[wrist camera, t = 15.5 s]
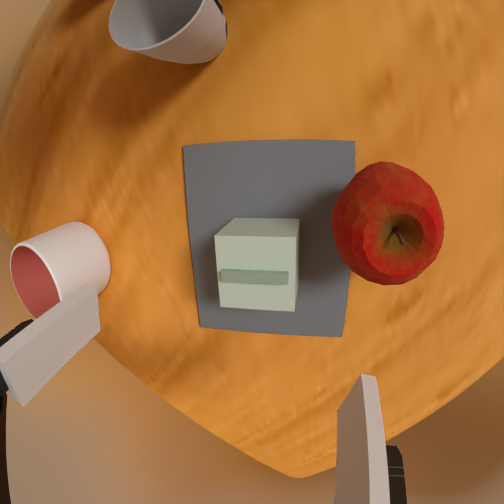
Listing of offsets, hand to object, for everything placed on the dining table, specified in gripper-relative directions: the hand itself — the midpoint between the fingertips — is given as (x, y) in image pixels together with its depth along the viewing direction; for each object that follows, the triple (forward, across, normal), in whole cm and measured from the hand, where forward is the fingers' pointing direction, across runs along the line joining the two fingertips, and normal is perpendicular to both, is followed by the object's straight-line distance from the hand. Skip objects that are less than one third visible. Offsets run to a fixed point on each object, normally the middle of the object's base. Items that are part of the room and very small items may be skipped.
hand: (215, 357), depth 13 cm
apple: (+18, +8, +6) cm, 20 cm away
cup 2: (+18, -11, +18) cm, 28 cm away
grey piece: (+17, 0, 0) cm, 17 cm away
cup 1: (+17, -22, -9) cm, 30 cm away
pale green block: (+16, 0, 0) cm, 16 cm away
